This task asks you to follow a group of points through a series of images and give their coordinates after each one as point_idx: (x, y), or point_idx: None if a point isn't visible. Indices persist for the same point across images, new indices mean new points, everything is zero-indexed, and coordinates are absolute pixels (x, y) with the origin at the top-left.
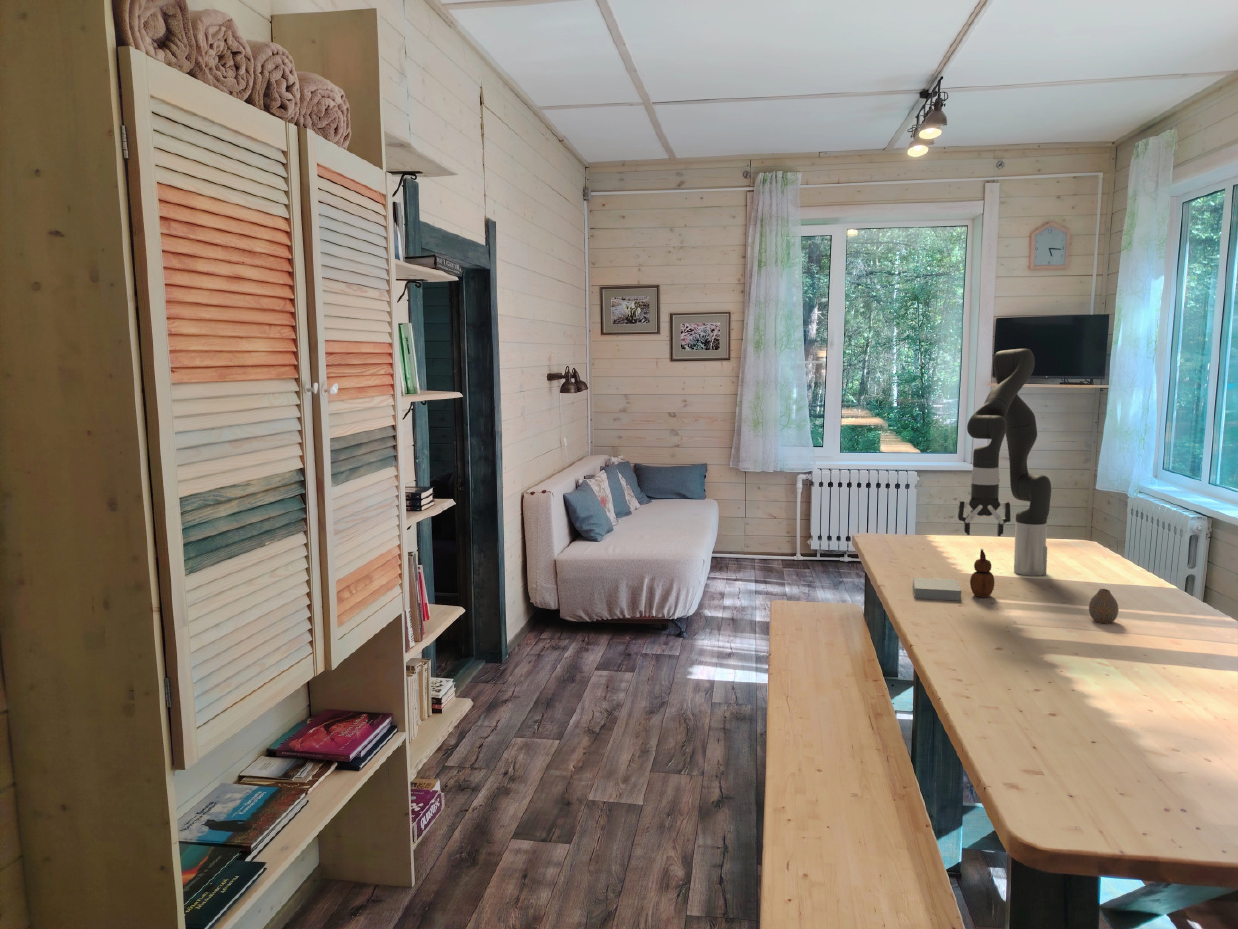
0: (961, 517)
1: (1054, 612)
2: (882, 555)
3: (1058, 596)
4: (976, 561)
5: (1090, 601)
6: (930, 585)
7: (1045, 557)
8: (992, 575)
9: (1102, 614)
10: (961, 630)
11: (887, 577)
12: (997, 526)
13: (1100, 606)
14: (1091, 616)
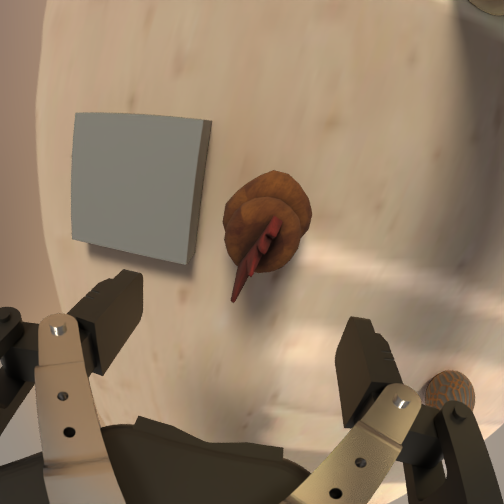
0: (20, 384)
1: (394, 342)
2: None
3: (478, 213)
4: (229, 246)
5: (436, 407)
6: (108, 207)
7: None
8: (301, 234)
9: None
10: (168, 416)
11: (55, 34)
12: (364, 358)
13: None
14: (426, 390)
